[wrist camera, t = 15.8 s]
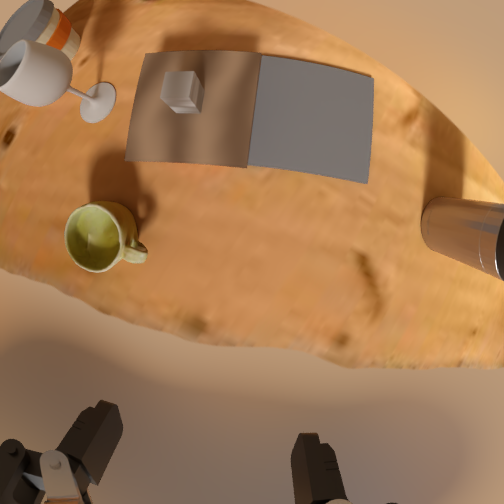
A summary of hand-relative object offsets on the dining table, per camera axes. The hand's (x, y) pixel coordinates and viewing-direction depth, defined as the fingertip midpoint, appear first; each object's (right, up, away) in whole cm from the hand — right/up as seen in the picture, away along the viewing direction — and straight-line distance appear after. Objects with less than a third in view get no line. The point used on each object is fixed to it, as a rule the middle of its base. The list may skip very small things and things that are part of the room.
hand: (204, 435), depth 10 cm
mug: (-17, +11, +29) cm, 35 cm away
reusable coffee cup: (-34, +46, +21) cm, 61 cm away
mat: (+11, +27, +25) cm, 38 cm away
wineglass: (-23, +32, +24) cm, 46 cm away
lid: (-5, +25, +19) cm, 32 cm away
